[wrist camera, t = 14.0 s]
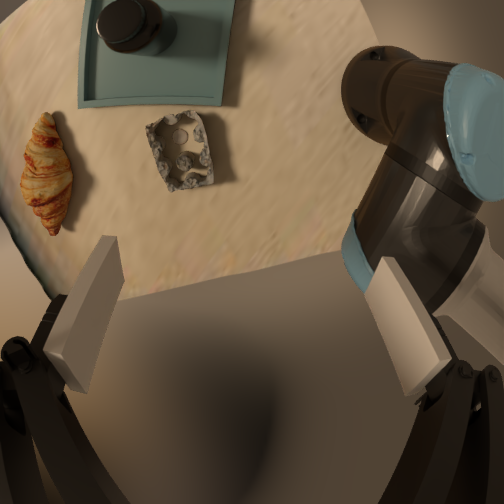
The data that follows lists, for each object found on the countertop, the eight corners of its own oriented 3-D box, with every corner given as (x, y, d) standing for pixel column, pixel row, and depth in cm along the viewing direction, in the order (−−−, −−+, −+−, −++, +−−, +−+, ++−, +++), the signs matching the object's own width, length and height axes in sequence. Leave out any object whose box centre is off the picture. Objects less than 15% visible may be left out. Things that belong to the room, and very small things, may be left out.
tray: (240, -29, 23) (240, -34, 21) (221, 104, 34) (221, 106, 33) (96, -18, 20) (89, -21, 19) (84, 106, 32) (77, 108, 30)
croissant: (48, 107, 34) (8, 118, 27) (78, 108, 31) (30, 120, 25) (57, 218, 45) (24, 236, 39) (85, 235, 43) (49, 257, 36)
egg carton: (150, 118, 35) (141, 123, 32) (203, 105, 35) (199, 109, 31) (168, 186, 41) (162, 197, 38) (217, 176, 41) (215, 187, 37)
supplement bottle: (182, 10, 25) (161, -14, 16) (173, 57, 29) (147, 52, 19) (132, 11, 24) (93, -7, 14) (124, 56, 28) (81, 55, 18)
